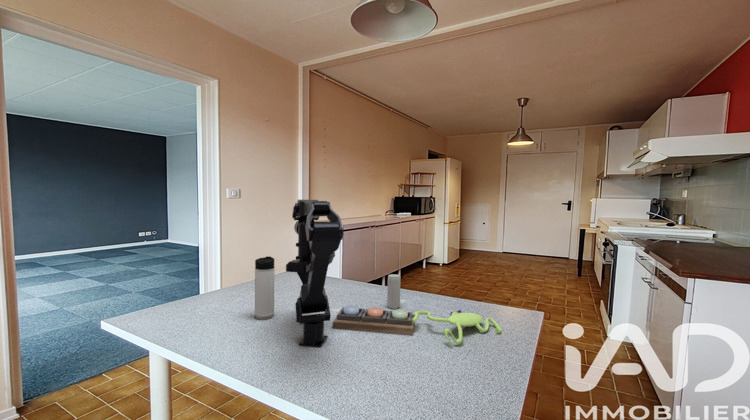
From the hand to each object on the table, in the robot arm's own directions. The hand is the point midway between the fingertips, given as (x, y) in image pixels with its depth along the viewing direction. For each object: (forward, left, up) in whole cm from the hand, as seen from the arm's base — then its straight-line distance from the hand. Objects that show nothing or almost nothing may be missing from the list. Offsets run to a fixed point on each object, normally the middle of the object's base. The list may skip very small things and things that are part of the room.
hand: (307, 288), depth 103 cm
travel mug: (+5, +17, -12) cm, 22 cm away
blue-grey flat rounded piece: (+6, -13, -10) cm, 17 cm away
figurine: (+7, -46, -13) cm, 49 cm away
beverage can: (+24, -25, -12) cm, 37 cm away
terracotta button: (+6, -21, -10) cm, 24 cm away
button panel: (+6, -21, -12) cm, 25 cm away
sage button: (+6, -29, -10) cm, 31 cm away
